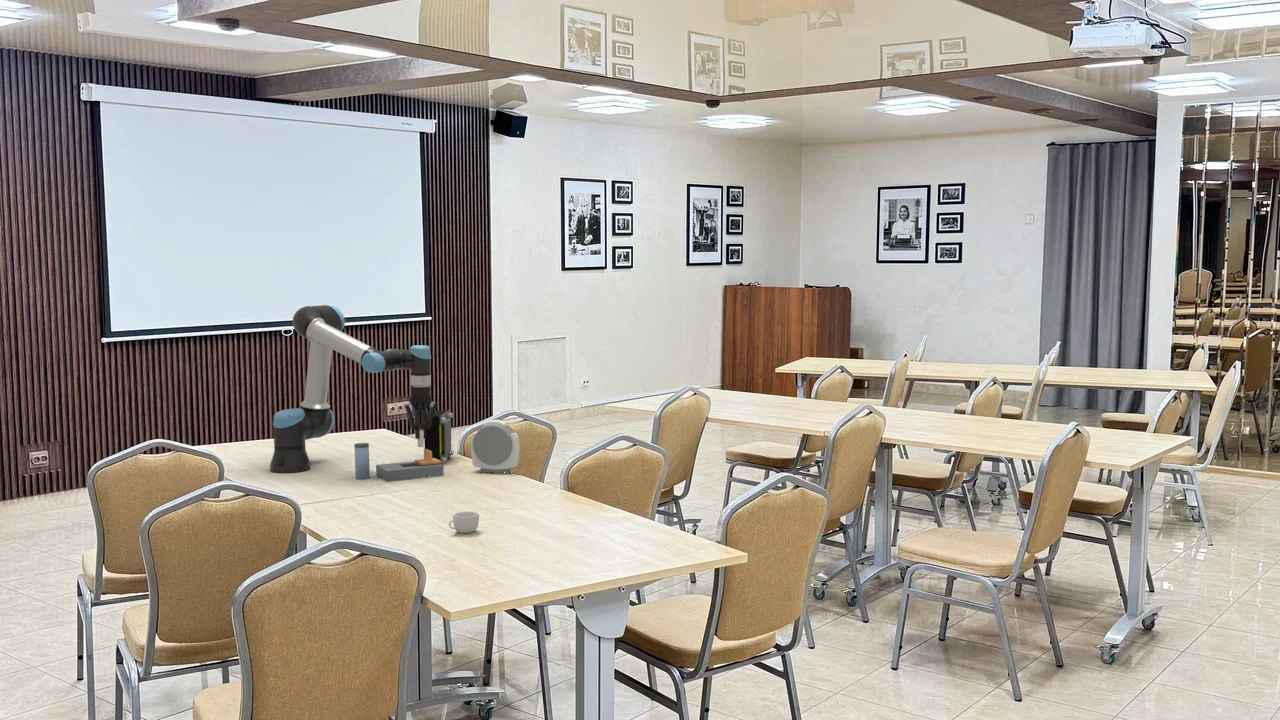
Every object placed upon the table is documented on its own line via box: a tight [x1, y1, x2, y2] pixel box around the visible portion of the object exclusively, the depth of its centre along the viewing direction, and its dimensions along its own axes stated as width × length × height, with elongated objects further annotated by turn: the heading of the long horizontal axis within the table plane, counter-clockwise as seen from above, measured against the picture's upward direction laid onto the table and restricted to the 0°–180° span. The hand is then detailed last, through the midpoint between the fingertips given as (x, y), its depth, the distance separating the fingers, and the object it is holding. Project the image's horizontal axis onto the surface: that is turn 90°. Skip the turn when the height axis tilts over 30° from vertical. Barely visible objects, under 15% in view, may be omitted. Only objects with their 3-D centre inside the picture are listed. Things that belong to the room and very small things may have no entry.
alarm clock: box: [470, 419, 521, 475], centre depth 406 cm, size 18×8×20 cm, turn 80°
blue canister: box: [354, 442, 371, 480], centre depth 395 cm, size 5×5×13 cm
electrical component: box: [420, 409, 454, 465], centre depth 429 cm, size 18×10×20 cm, turn 179°
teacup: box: [448, 510, 480, 534], centre depth 314 cm, size 10×8×5 cm
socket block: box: [375, 460, 445, 482], centre depth 400 cm, size 14×22×4 cm, turn 120°
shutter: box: [414, 448, 442, 465], centre depth 403 cm, size 8×8×5 cm
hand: (420, 446), depth 402 cm, fingers closed
